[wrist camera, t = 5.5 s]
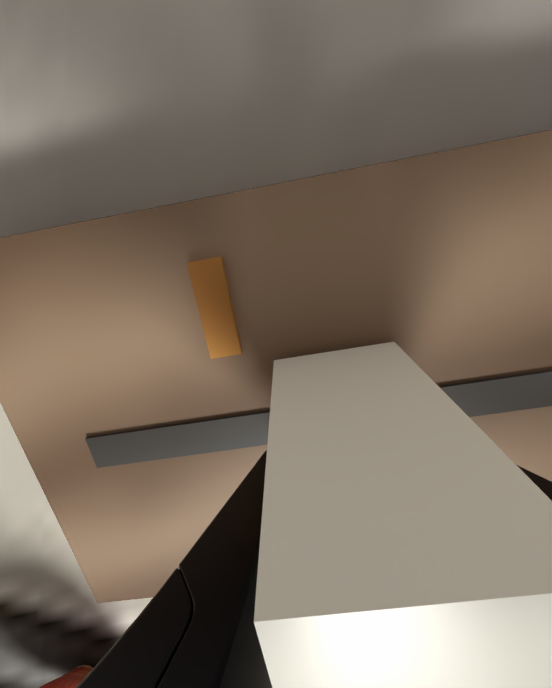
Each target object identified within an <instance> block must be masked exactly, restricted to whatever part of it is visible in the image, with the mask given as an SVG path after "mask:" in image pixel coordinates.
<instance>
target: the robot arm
mask: <svg viewBox="0 0 552 688" xmlns="http://www.w3.org/2000/svg"><path fill="white" fill-rule="evenodd" d="M266 456H267V450H266V451H265V452H264V453H263V455H262V456H261V457H260V458H259V460H258V461H257V462H256V464H255V465H254V466H253V468H252V469H251V470H250V472H249V473H248V474H247V476H246V477H245V478H244V480H243V481H242V482H241V484H240V485H239V486H238V487H237V489H236V490H235V491H234V493H233V494H232V495H231V497H230V498H229V499H228V501H227V502H226V503H225V505H224V506H223V507H222V509H221V510H220V511H219V513H218V514H217V515H216V516H215V518H214V519H213V520H212V522H211V523H210V524H209V526H208V527H207V528H206V530H205V531H204V532H203V534H202V535H201V536H200V538H199V539H198V540H197V542H196V543H195V544H194V545H193V547H192V548H191V549H190V551H189V552H188V553H187V555H186V556H185V557H184V559H183V560H182V561H181V563H180V564H179V569H180V570H179V569H178V568H176V569H175V570H174V572H173V573H172V574H171V576H170V577H169V578H168V579H167V581H166V582H165V583H164V585H163V586H162V587H161V589H160V590H159V591H158V592H157V594H156V595H155V596H154V597H153V599H152V600H151V601H150V602H149V604H148V605H147V606H146V607H145V609H144V610H143V611H142V612H141V614H140V615H139V616H138V617H137V619H136V620H135V621H134V622H133V623H132V624H131V626H130V627H129V628H128V629H127V630H126V631H125V633H124V634H123V635H122V636H121V637H120V638H119V640H118V641H117V642H116V643H115V644H114V645H113V646H112V648H111V649H110V650H109V651H108V652H107V653H106V655H105V656H104V657H103V658H102V659H101V660H100V661H99V662H98V663H97V665H96V666H95V667H94V668H93V669H92V670H91V671H90V672H89V674H88V675H87V676H86V677H85V678H84V679H83V680H82V681H81V683H80V684H79V685H78V686H77V687H76V688H272V685H271V681H270V677H269V674H268V670H267V667H266V663H265V660H264V656H263V653H262V649H261V646H260V642H259V639H258V635H257V632H256V628H255V625H254V611H255V598H256V585H257V572H258V559H259V546H260V534H261V521H262V508H263V495H264V482H265V469H266ZM517 466H518V465H517ZM518 467H519V468H520V469H521V470H522V471H523V472H524V473H525V474H526V475H527V476H528V477H529V478H530V479H531V480H532V481H533V482H534V483H535V484H536V485H537V486H538V487H539V488H540V489H541V490H542V491H543V492H544V494H545V495H546V496H547V497H548V498H549V499H550V500H551V501H552V482H551V481H549V480H547V479H545V478H543V477H541V476H539V475H537V474H535V473H533V472H531V471H528V470H526V469H524V468H522V467H520V466H518Z"/></svg>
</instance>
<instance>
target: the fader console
mask: <svg viewBox="0 0 552 688" xmlns="http://www.w3.org/2000/svg"><path fill="white" fill-rule="evenodd" d="M388 342H395V343H396V344H397V345H398V346H399V347H400V348H401V349H402V350H403V351H404V352H405V353H406V354H407V355H408V356H409V357H410V358H411V359H412V360H413V361H414V362H415V363H416V364H417V365H418V366H419V367H420V368H421V369H422V370H423V371H424V372H425V373H426V374H427V375H428V376H429V377H430V378H431V379H432V380H433V381H434V382H435V383H436V384H437V385H438V386H439V387H440V388H441V389H442V390H443V391H444V392H445V393H446V394H447V395H448V396H449V397H450V398H451V399H452V400H453V401H454V402H455V403H456V404H457V406H458V407H459V408H460V409H461V410H462V411H463V412H464V413H465V414H466V415H467V416H468V417H469V418H470V419H471V420H472V421H473V422H474V423H475V424H476V425H477V426H478V427H479V428H480V429H481V430H482V431H483V432H484V433H485V434H486V435H487V436H488V437H489V438H490V439H491V440H492V441H493V442H494V443H495V444H496V445H497V446H498V447H499V448H500V449H501V450H502V451H503V452H504V453H505V454H506V455H507V456H508V457H509V458H510V459H511V460H512V461H513V462H514V463H515V464H516V465H518V466H520V467H522V468H524V469H526V470H528V471H531V472H533V473H535V474H537V475H539V476H541V477H543V478H545V479H547V480H549V481H551V482H552V130H548V131H543V132H538V133H533V134H528V135H523V136H517V137H512V138H507V139H502V140H497V141H492V142H487V143H482V144H477V145H472V146H466V147H461V148H456V149H451V150H446V151H441V152H436V153H431V154H426V155H420V156H415V157H410V158H405V159H400V160H395V161H390V162H385V163H380V164H375V165H369V166H364V167H359V168H354V169H349V170H344V171H339V172H334V173H329V174H323V175H318V176H313V177H308V178H303V179H298V180H293V181H288V182H283V183H278V184H272V185H267V186H262V187H257V188H252V189H247V190H242V191H237V192H232V193H226V194H221V195H216V196H211V197H206V198H201V199H196V200H191V201H186V202H181V203H175V204H170V205H165V206H160V207H155V208H150V209H145V210H140V211H135V212H130V213H124V214H119V215H114V216H109V217H104V218H99V219H94V220H89V221H84V222H78V223H73V224H68V225H63V226H58V227H53V228H48V229H43V230H38V231H33V232H27V233H22V234H17V235H12V236H7V237H2V238H0V403H1V405H2V407H3V409H4V411H5V413H6V415H7V417H8V419H9V421H10V423H11V425H12V427H13V429H14V431H15V433H16V436H17V438H18V440H19V442H20V444H21V446H22V448H23V450H24V452H25V454H26V456H27V458H28V460H29V462H30V464H31V467H32V469H33V471H34V473H35V475H36V477H37V479H38V481H39V483H40V485H41V487H42V489H43V491H44V493H45V495H46V497H47V500H48V502H49V504H50V506H51V508H52V510H53V512H54V514H55V516H56V518H57V520H58V522H59V524H60V526H61V528H62V530H63V533H64V535H65V537H66V539H67V541H68V543H69V545H70V547H71V549H72V551H73V553H74V555H75V557H76V559H77V561H78V564H79V566H80V568H81V570H82V572H83V574H84V576H85V578H86V580H87V582H88V584H89V586H90V588H91V590H92V592H93V594H94V597H95V599H96V601H97V603H102V602H111V601H121V600H131V599H140V598H150V597H154V596H155V595H156V594H157V592H158V591H159V590H160V589H161V587H162V586H163V585H164V583H165V582H166V581H167V579H168V578H169V577H170V576H171V574H172V573H173V572H174V570H175V569H176V568H178V569H179V564H180V563H181V561H182V560H183V559H184V557H185V556H186V555H187V553H188V552H189V551H190V549H191V548H192V547H193V545H194V544H195V543H196V542H197V540H198V539H199V538H200V536H201V535H202V534H203V532H204V531H205V530H206V528H207V527H208V526H209V524H210V523H211V522H212V520H213V519H214V518H215V516H216V515H217V514H218V513H219V511H220V510H221V509H222V507H223V506H224V505H225V503H226V502H227V501H228V499H229V498H230V497H231V495H232V494H233V493H234V491H235V490H236V489H237V487H238V486H239V485H240V484H241V482H242V481H243V480H244V478H245V477H246V476H247V474H248V473H249V472H250V470H251V469H252V468H253V466H254V465H255V464H256V462H257V461H258V460H259V458H260V457H261V456H262V455H263V453H264V452H265V451H266V450H267V443H268V430H269V417H270V404H271V391H272V378H273V365H274V360H279V359H285V358H292V357H298V356H305V355H311V354H318V353H324V352H330V351H337V350H343V349H350V348H356V347H363V346H369V345H375V344H382V343H388ZM179 570H180V569H179Z"/></svg>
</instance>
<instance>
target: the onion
mask: <svg viewBox="0 0 552 688" xmlns="http://www.w3.org/2000/svg"><path fill="white" fill-rule="evenodd" d="M92 669H93V667H92V666H91V665H81V666H78V667H76V668H74V669H72V670H71V671H69V672H68V673H66V674H65V675H63V676H61V677H59V678H57V679H55V680H53V681H51V682H49V683H47V684H45V685H43V686H41V687H40V688H76V687H77V686H78V685H79V684H80V683H81V681H82V680H83V679H84V678H85V677H86V676H87V675H88V674H89V672H90V671H91V670H92Z"/></svg>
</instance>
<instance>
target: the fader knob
mask: <svg viewBox="0 0 552 688" xmlns="http://www.w3.org/2000/svg"><path fill="white" fill-rule="evenodd" d="M254 625H255V628H256V632H257V635H258V639H259V642H260V646H261V649H262V653H263V656H264V660H265V663H266V667H267V670H268V674H269V677H270V681H271V685H272V688H552V501H551V500H550V499H549V498H548V497H547V496H546V495H545V494H544V492H543V491H542V490H541V489H540V488H539V487H538V486H537V485H536V484H535V483H534V482H533V481H532V480H531V479H530V478H529V477H528V476H527V475H526V474H525V473H524V472H523V471H522V470H521V469H520V468H519V467H518V466H517V465H516V464H515V463H514V462H513V461H512V460H511V459H510V458H509V457H508V456H507V455H506V454H505V453H504V452H503V451H502V450H501V449H500V448H499V447H498V446H497V445H496V444H495V443H494V442H493V441H492V440H491V439H490V438H489V437H488V436H487V435H486V434H485V433H484V432H483V431H482V430H481V429H480V428H479V427H478V426H477V425H476V424H475V423H474V422H473V421H472V420H471V419H470V418H469V417H468V416H467V415H466V414H465V413H464V412H463V411H462V410H461V409H460V408H459V407H458V406H457V404H456V403H455V402H454V401H453V400H452V399H451V398H450V397H449V396H448V395H447V394H446V393H445V392H444V391H443V390H442V389H441V388H440V387H439V386H438V385H437V384H436V383H435V382H434V381H433V380H432V379H431V378H430V377H429V376H428V375H427V374H426V373H425V372H424V371H423V370H422V369H421V368H420V367H419V366H418V365H417V364H416V363H415V362H414V361H413V360H412V359H411V358H410V357H409V356H408V355H407V354H406V353H405V352H404V351H403V350H402V349H401V348H400V347H399V346H398V345H397V344H396V343H395V342H388V343H382V344H375V345H369V346H363V347H356V348H350V349H343V350H337V351H330V352H324V353H318V354H311V355H305V356H298V357H292V358H285V359H279V360H274V365H273V378H272V391H271V404H270V417H269V430H268V443H267V456H266V469H265V482H264V495H263V508H262V521H261V534H260V546H259V559H258V572H257V585H256V598H255V611H254Z"/></svg>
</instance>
